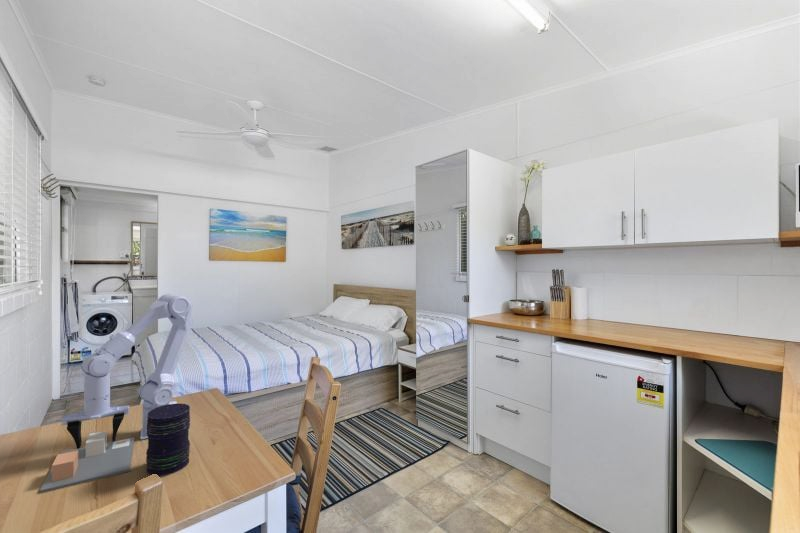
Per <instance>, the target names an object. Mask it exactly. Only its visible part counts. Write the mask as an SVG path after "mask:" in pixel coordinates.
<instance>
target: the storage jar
mask: <svg viewBox="0 0 800 533" xmlns="http://www.w3.org/2000/svg"><path fill="white" fill-rule="evenodd" d="M190 410H191V406H190V405H189V404H187V403H177V404H169V405H164V406H160V407H157V408H155V409H153V410H151V411H149V412H148V414H147V418H148V420H147V436H148V438H147V449H146V452H145V454H146V457H145V459H146V460H145V461H146V466H147V467H146V474H148V475H149V476H151V475H152V474H157V475H158V476H157V477H163V476H164V477H165V476H168V475H172V474H175V473H177V472H180V471H181V470H183V469H184V468H186V467H187V466H188V464H189V463H190V452H191V451H190V450H191V448H190V447H191V442H190V439H189V429H190V428H191V423H190V421H191V412H190Z"/></svg>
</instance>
